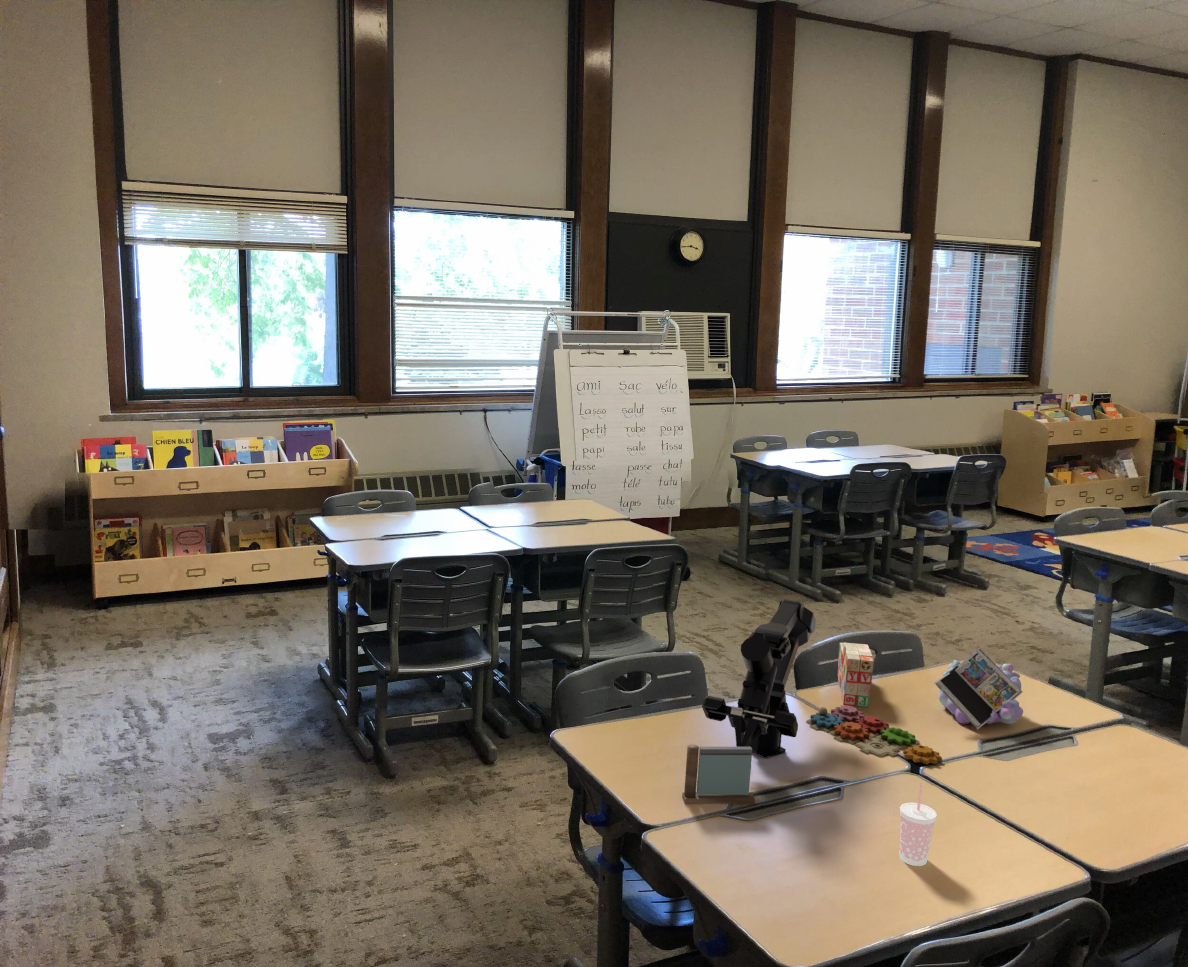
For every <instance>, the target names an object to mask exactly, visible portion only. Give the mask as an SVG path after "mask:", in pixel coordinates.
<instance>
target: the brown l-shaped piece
mask: <svg viewBox="0 0 1188 967" xmlns="http://www.w3.org/2000/svg"><path fill="white" fill-rule="evenodd" d="M699 750H700V746H699V745H697V744H694V743H693V744H692V743H691V744H688V745H687V749H686V762H685V776H684V777H685V778H684V792H682V795H681V797H682V801H683V803H684V804H685V805H712V804H713V805H722V804H723V805H733V804H734V805H740V804H741V805H745V804H746V805H748V804H749V805H755V804H756V797H755V796H754V794H753V793H752V792H750V791H749V795H698V794H697V779H698V764H699Z"/></svg>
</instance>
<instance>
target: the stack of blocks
mask: <svg viewBox="0 0 1188 967" xmlns="http://www.w3.org/2000/svg"><path fill="white" fill-rule="evenodd" d="M874 662H875V660H874V657H873V654H872V651H871V649H870V647H869V645H868V644H865V643H853V642H851V643H850V642H839V644H838V662H837V665H838V666H837V680H838V685H839V689H840V694H841V699H842V700H841V701H842V705H843V706H846V705H848V706H853V707H864V708H869V707H870V699H871V686H872V680H873V671H874V670H873V669H874V664H875V663H874Z"/></svg>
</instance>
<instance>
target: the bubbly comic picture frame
mask: <svg viewBox="0 0 1188 967" xmlns="http://www.w3.org/2000/svg"><path fill="white" fill-rule="evenodd" d="M1013 670H1014V665H1013V663H1004V664H1003V665H998V664H996V662H995V661H993V660H992V658H991V657H990V656H988V655H987V653H985V651H983V649H982V648H981V647H978V648H977V649H975V650H974V651H973V652H971V653H970V654H969V655H968V656H967V657H966V658H965V659H963V660H962V661H961V662H960V661H959V660H957V659H953V661H952V662H950V663H949V665H948V669H946V671H944V673H943V674H942V677H940V678H939V679H938V680H935V682H934V685H935V686H936V687H937V688H938V689H939V692H938V701H939V702H940V704H941V705H942V706H943V707H944V708H945V709H947V710H948V711H949V712H950V713H951V714H952V715H954V716H955V720H956V721H957V722H958V723H959V724H964V725H965V724H972V725H973V726H974V728H975V729H976V730H979V729H980V728H982V726H984V725H985V724H988V725H991V724H993V723H1002V724H1006V725H1013V724H1015V723H1017V721H1018V720H1019V719H1020V718H1021V717H1022V715H1024V710H1023V708H1022V707H1021V706H1020V702H1019V701H1018V700H1017V699H1016V698H1018V697H1019V696H1020V695H1022V693H1023V690H1022V681H1021V680H1020V678H1021V675H1020V673H1017V672H1015V671H1013Z"/></svg>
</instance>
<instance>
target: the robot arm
mask: <svg viewBox="0 0 1188 967" xmlns="http://www.w3.org/2000/svg"><path fill="white" fill-rule="evenodd" d="M816 623H817V622H816V617H815V614H814V612H813V611H811V610H810V609H809V608H807V607H805V604H804V603H803V602H801V601H798V600H792V599H781V600H780V601H779V603H778V606H777V610H776V612H775V613H774V614H773V616H772V617H771V619H770V620H769V622H768V623H764V624H763V623H762V624H759V625H758V626H757V627H756V629H755V630H754V631H753V632H751V633H750V635H749V637H748V638H746V639H745V640H744V641H743V642H742V643H741V645H740V654H741V656H742V659H743V663H744V667H745V669H746V670H747V671H746V675H745V679H744V680H743V681H742V689H741V692H740V697H739V698H738V700H737V706H731V705H727V704H726V701H725V699H724V698H721V697H717V696H712V695H707V696H706V697H704V699H703V701H702V704H701V708H702V711H703V713H704V715H705V717H706V718H707V719H708V720H712V721H718V722H723V721H724V720H726V718H728V720H729V723H730V726H731V727H732V728H734V732H735V733H734V734H735V744H736V745H735V747H751V748H752V753H755V754H757V755H759V756H761V757H763V758H764V759H767V758H770V757H773V756H777V755H780V754H784V753H785V752H786V748H784V747H783V746H782V745H781V744H782V736H785V737H786V736H787V737H790V738H796V737H797V733H798V730H799V724H798V720H797V716H796V715H795V713H794V712H790V708H789V704H788V703H787V695H786V690H785V687H786V685H787V682H788V678H789V676H790V673H791V670H792V667H793V664H794V661H795V658H796V656H797V653H798V650H799V648H801V646H803V645H805V644H807V643H808V642H809V640H810V637H811V635H812V634H814V632H815V630H816V625H817V624H816Z"/></svg>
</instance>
